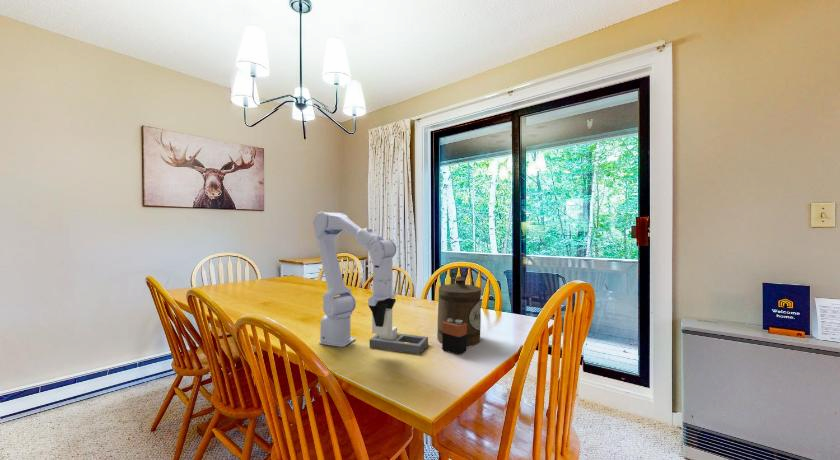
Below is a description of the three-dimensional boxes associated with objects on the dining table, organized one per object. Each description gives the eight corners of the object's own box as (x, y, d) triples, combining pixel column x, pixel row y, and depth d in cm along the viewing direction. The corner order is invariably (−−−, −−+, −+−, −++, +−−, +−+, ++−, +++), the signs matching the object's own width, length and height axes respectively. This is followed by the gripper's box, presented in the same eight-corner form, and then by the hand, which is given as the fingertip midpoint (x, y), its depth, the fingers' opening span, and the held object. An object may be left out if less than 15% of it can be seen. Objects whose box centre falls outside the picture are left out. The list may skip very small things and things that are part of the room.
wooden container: (483, 347, 110) (484, 280, 109) (438, 346, 110) (438, 279, 110) (476, 333, 125) (477, 273, 124) (436, 332, 125) (437, 273, 125)
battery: (459, 355, 103) (459, 323, 103) (441, 350, 107) (441, 318, 107) (467, 351, 106) (467, 320, 106) (449, 346, 111) (449, 316, 110)
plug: (372, 333, 102) (372, 310, 101) (377, 329, 105) (377, 307, 105) (387, 335, 100) (387, 311, 100) (392, 331, 103) (392, 308, 103)
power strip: (369, 347, 109) (369, 330, 109) (381, 338, 118) (381, 322, 118) (419, 354, 104) (419, 336, 104) (428, 344, 112) (428, 328, 112)
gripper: (384, 284, 94) (383, 333, 94) (403, 277, 108) (403, 319, 108) (361, 282, 96) (361, 330, 97) (383, 275, 110) (383, 317, 110)
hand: (382, 324), depth 102 cm, fingers closed on plug, 3 cm apart
